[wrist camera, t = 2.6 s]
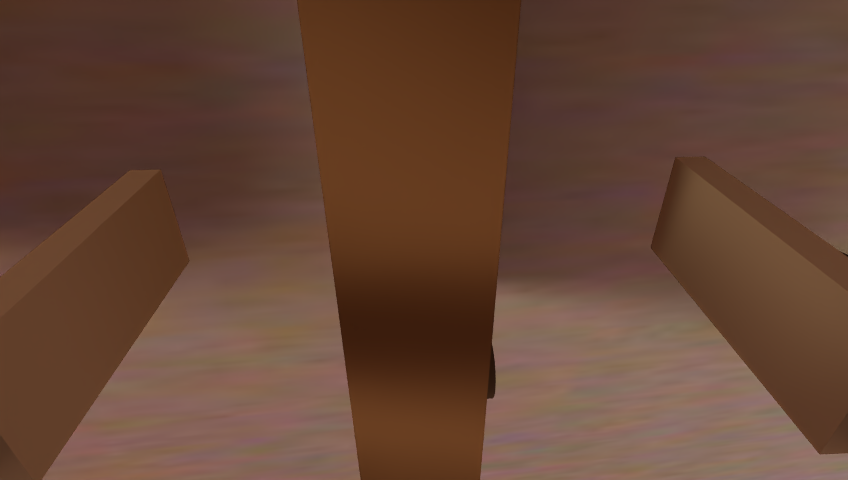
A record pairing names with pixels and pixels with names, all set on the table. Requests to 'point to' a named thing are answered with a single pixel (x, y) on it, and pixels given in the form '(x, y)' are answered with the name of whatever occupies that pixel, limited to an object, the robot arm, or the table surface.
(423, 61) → the door
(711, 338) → the table surface
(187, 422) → the table surface
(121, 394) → the table surface
